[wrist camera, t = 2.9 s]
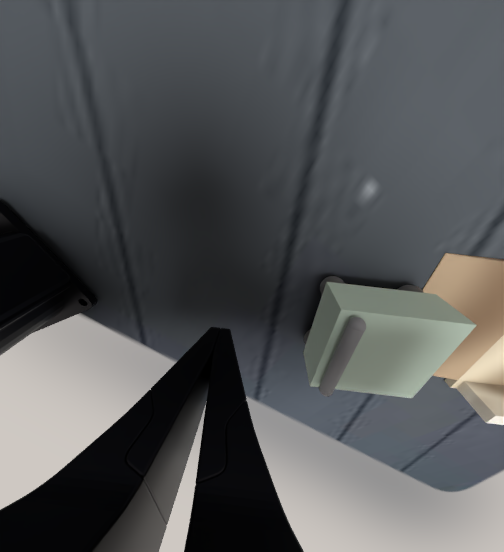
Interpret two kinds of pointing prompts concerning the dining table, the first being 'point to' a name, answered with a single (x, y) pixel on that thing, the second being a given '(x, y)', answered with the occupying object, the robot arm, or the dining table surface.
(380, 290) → the pale green pegged cube
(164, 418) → the robot arm
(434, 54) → the dining table surface
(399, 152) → the dining table surface
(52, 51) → the dining table surface
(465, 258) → the dock
